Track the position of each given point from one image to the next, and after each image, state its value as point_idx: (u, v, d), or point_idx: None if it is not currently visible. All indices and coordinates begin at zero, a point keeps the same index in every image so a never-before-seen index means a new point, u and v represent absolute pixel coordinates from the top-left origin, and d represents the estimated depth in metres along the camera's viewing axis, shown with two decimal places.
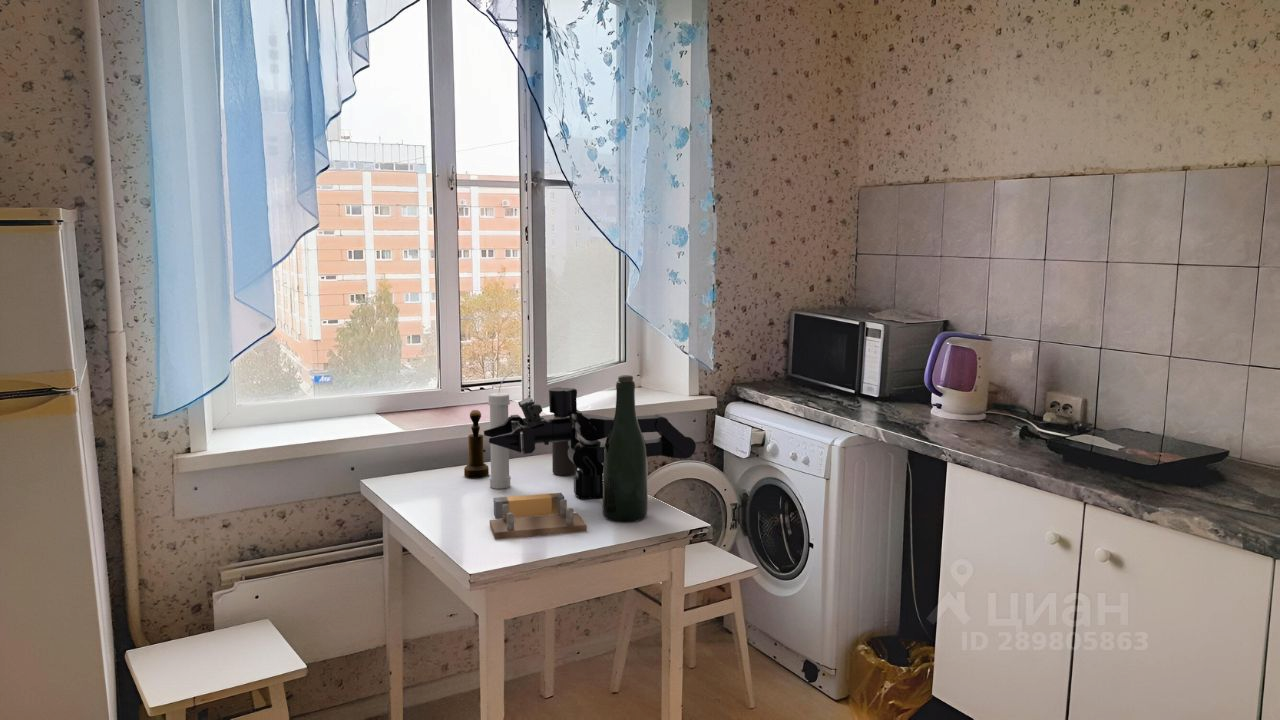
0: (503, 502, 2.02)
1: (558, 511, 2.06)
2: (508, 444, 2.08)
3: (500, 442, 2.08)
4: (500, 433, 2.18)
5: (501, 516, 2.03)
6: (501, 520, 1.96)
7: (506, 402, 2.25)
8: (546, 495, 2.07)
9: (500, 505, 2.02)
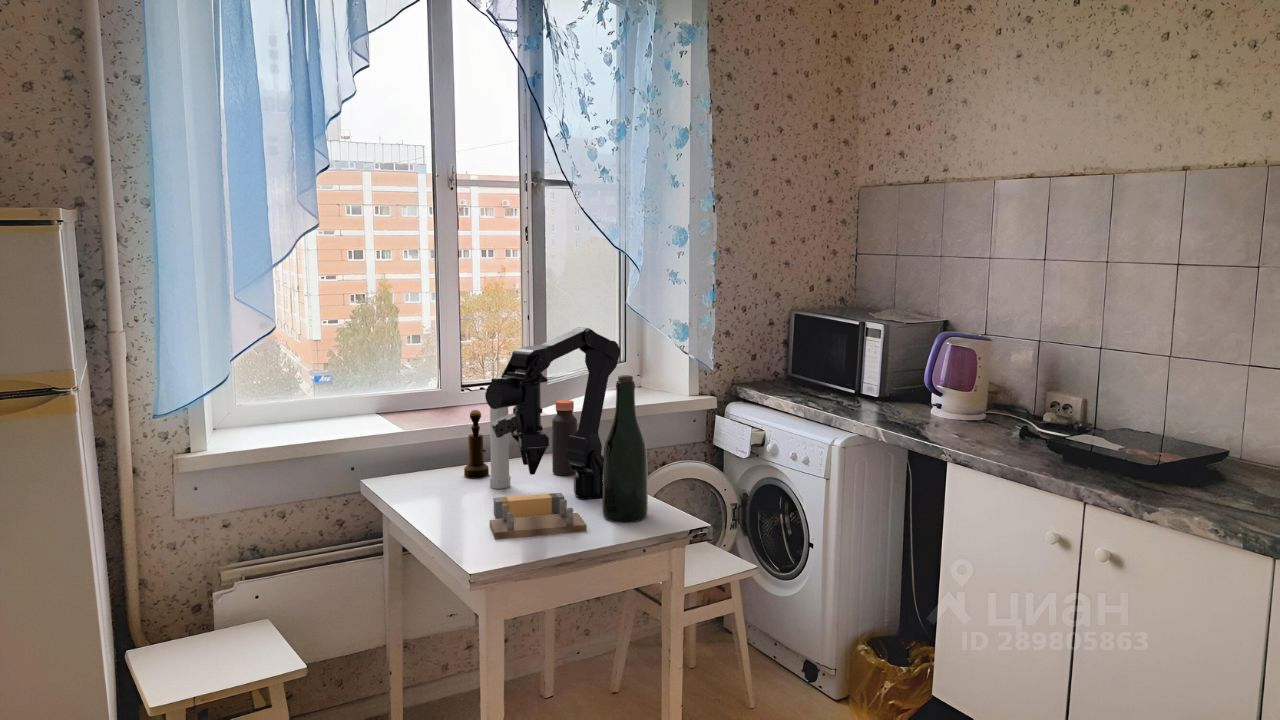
0: (503, 502, 2.02)
1: (558, 511, 2.06)
2: (537, 456, 1.99)
3: (535, 464, 2.00)
4: None
5: (501, 516, 2.03)
6: (501, 520, 1.96)
7: None
8: (546, 495, 2.07)
9: (500, 505, 2.02)
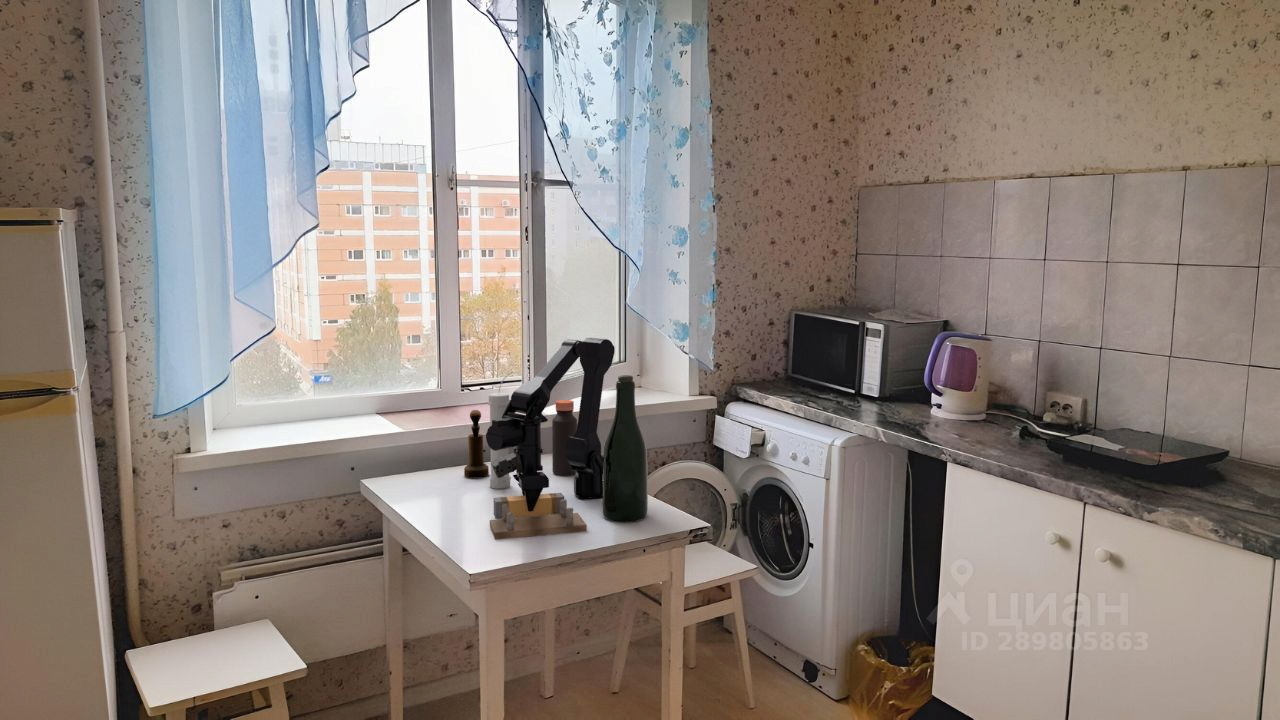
0: (503, 502, 2.02)
1: (558, 511, 2.06)
2: (535, 493, 2.03)
3: (533, 501, 2.03)
4: None
5: (501, 516, 2.03)
6: (501, 520, 1.96)
7: (506, 402, 2.25)
8: (546, 495, 2.07)
9: (500, 505, 2.02)
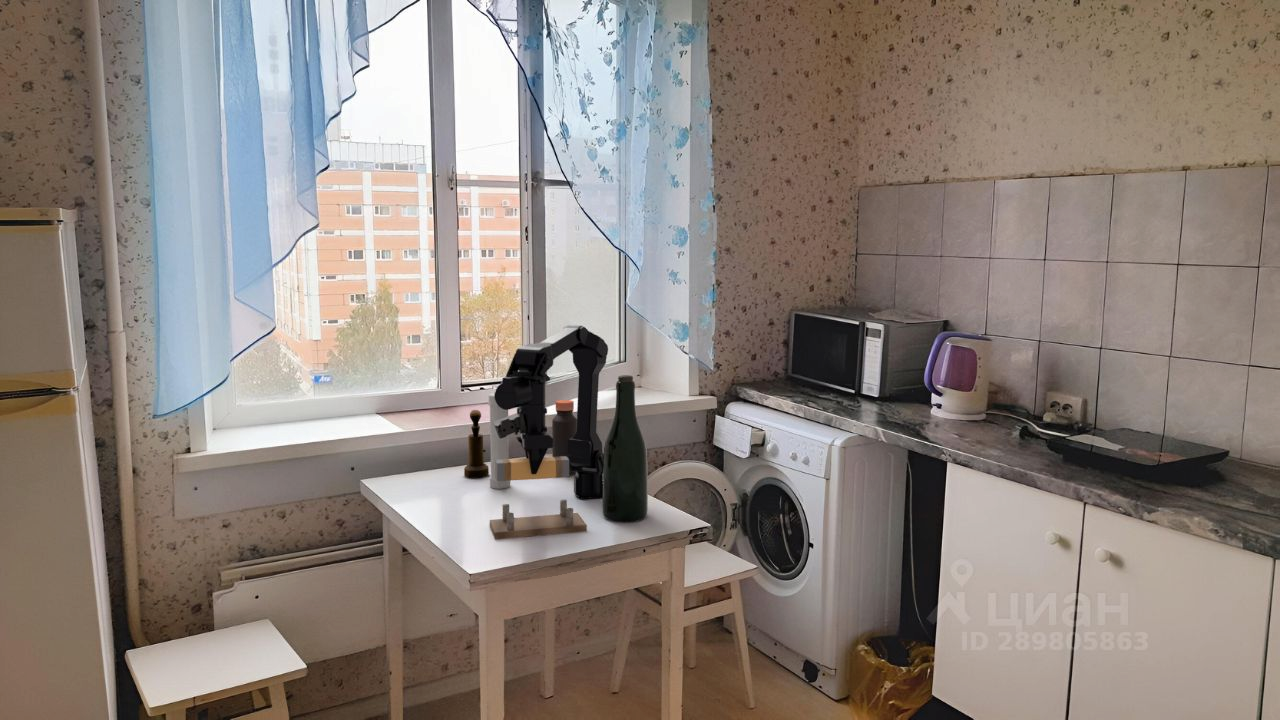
0: (505, 464, 1.94)
1: (562, 475, 1.98)
2: (539, 455, 1.94)
3: (536, 463, 1.95)
4: None
5: (503, 478, 1.95)
6: (501, 520, 1.96)
7: None
8: (550, 458, 1.99)
9: (502, 467, 1.94)
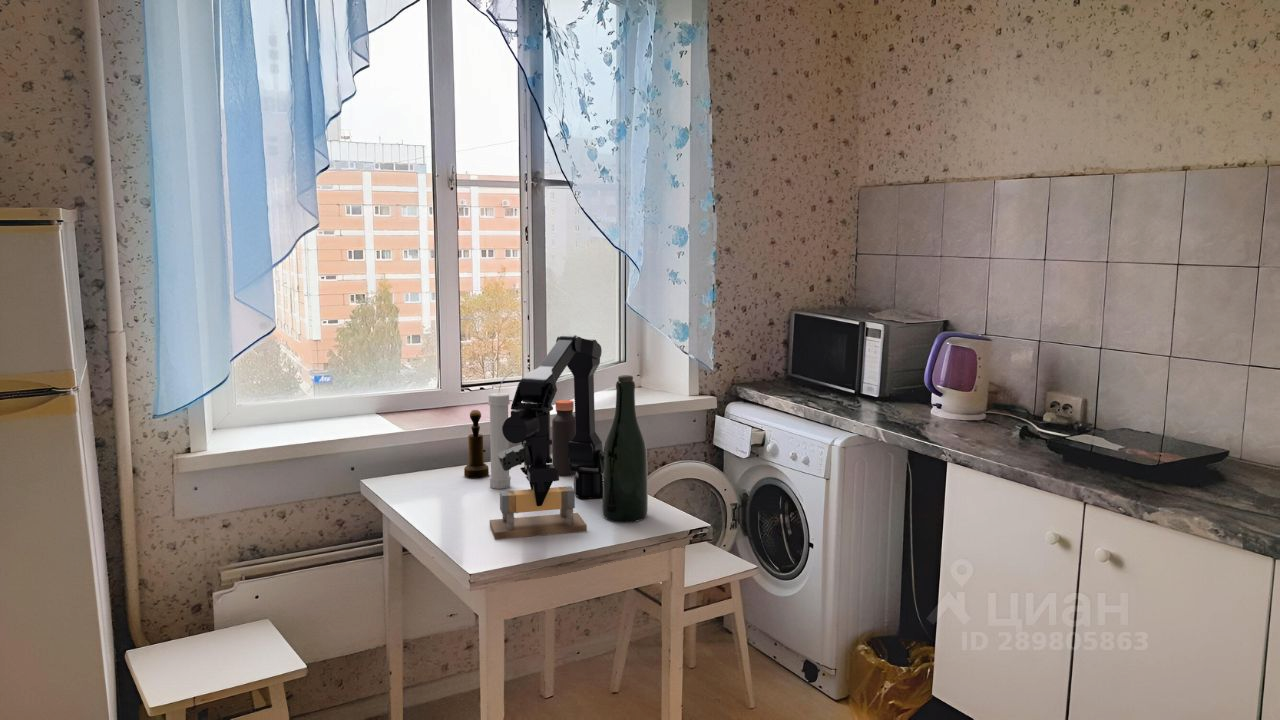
0: (510, 496, 1.91)
1: (568, 506, 1.95)
2: (545, 487, 1.91)
3: (542, 495, 1.92)
4: None
5: (508, 511, 1.91)
6: (501, 520, 1.96)
7: (506, 402, 2.25)
8: (555, 489, 1.96)
9: (507, 499, 1.91)
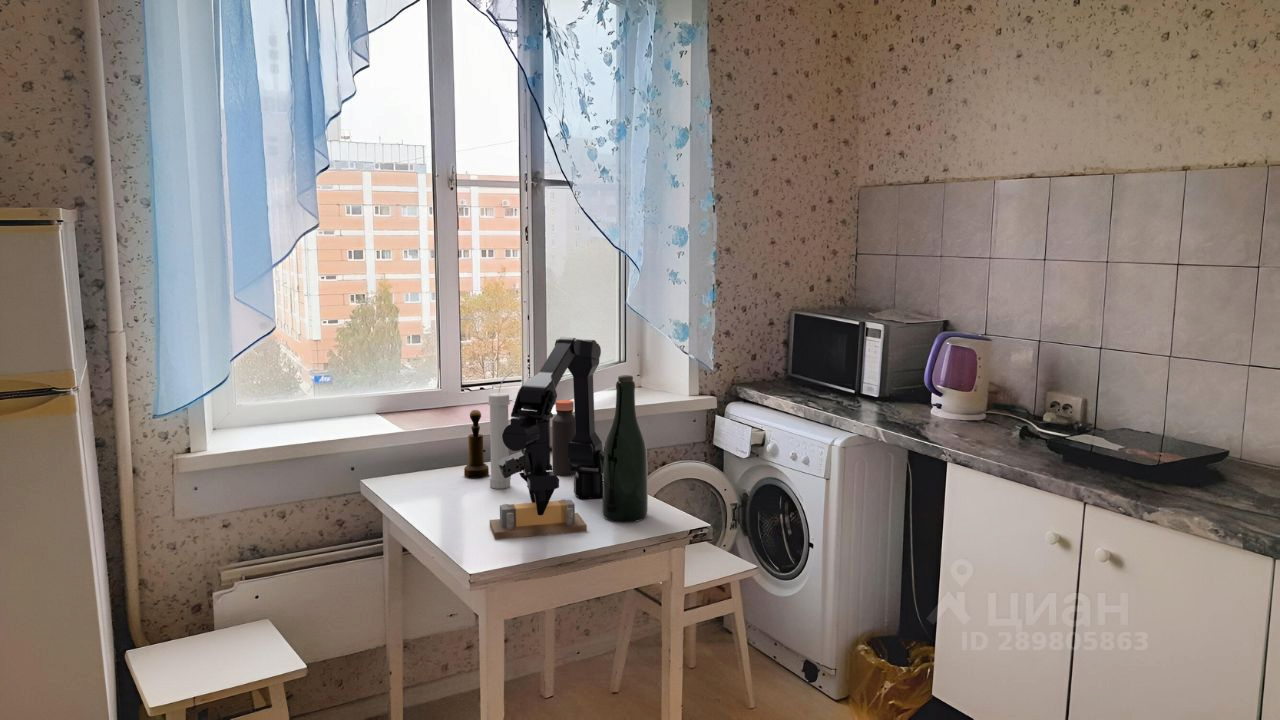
0: (510, 510, 1.91)
1: None
2: (546, 496, 1.90)
3: (543, 504, 1.91)
4: None
5: None
6: None
7: (506, 402, 2.25)
8: (555, 502, 1.96)
9: None
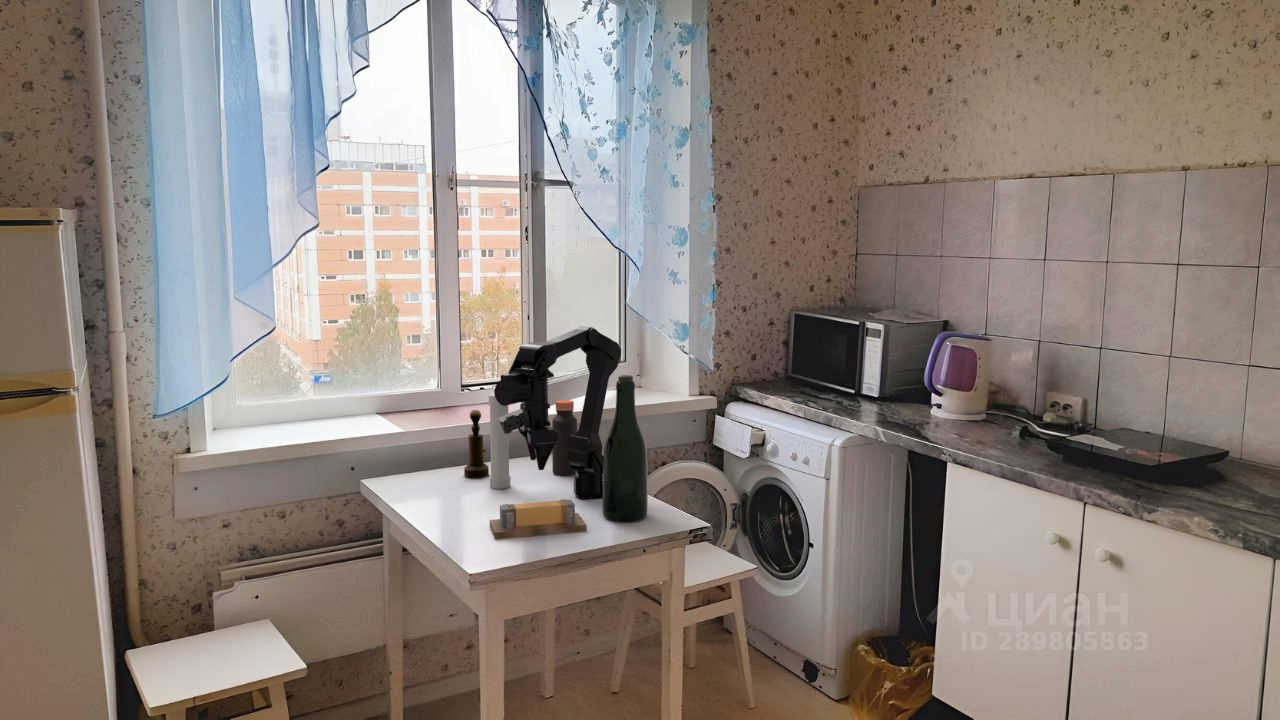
0: (510, 510, 1.91)
1: None
2: (546, 452, 1.99)
3: (544, 459, 2.00)
4: None
5: None
6: None
7: None
8: (555, 502, 1.96)
9: None
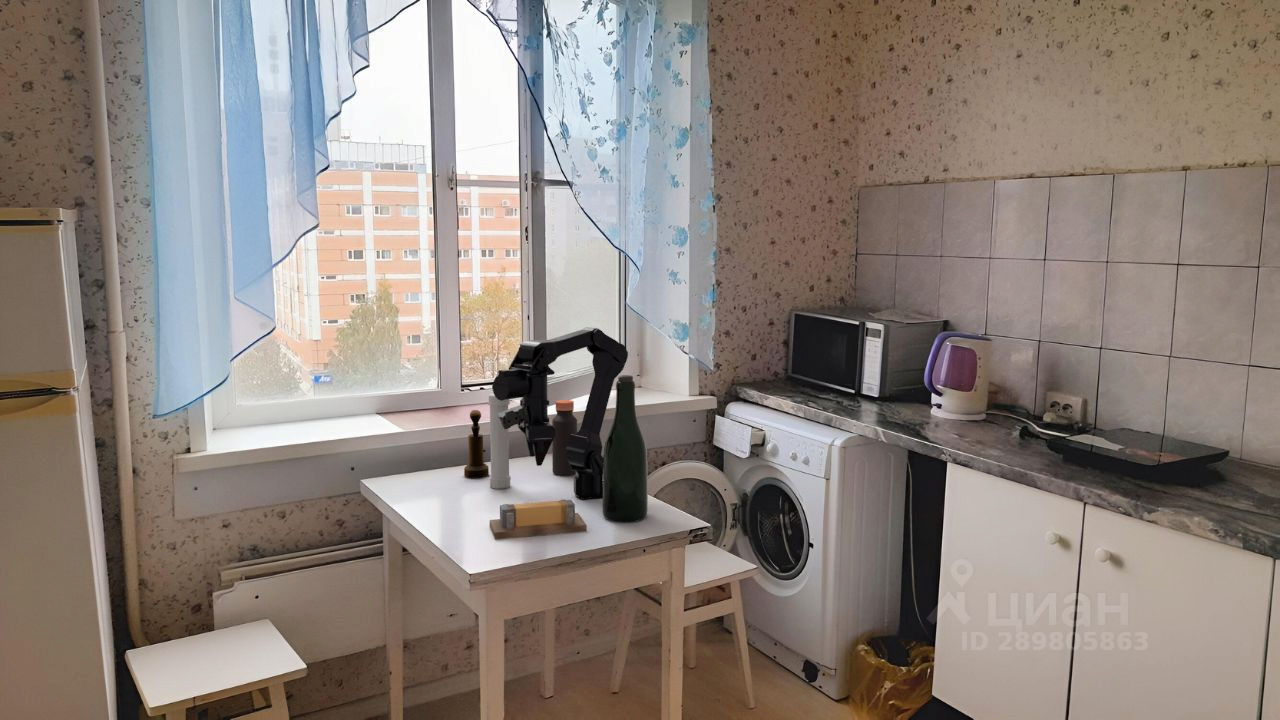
0: (510, 510, 1.91)
1: None
2: (544, 447, 2.01)
3: (542, 455, 2.02)
4: None
5: None
6: None
7: (506, 402, 2.25)
8: (555, 502, 1.96)
9: None
